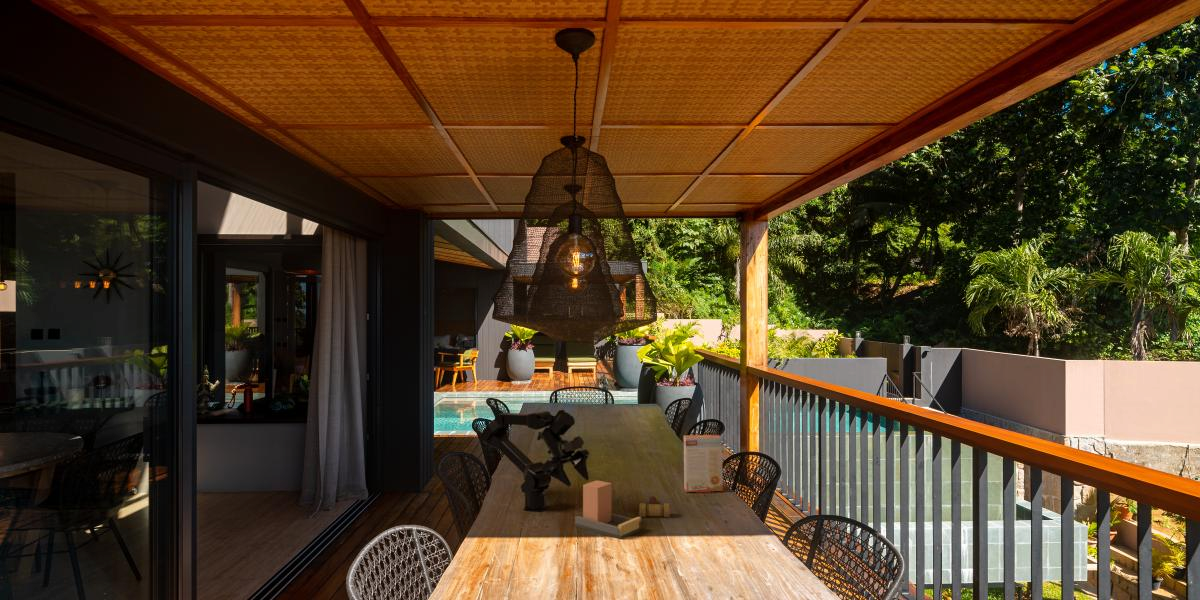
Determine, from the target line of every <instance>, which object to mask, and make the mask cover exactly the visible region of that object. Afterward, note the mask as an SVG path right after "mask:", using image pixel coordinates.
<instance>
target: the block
mask: <svg viewBox="0 0 1200 600" xmlns="http://www.w3.org/2000/svg"><path fill="white" fill-rule="evenodd" d="M582 501H583V502H582V517H583V518H587V519H591V520H595V521H598V522H602V523H608V522H610V521H611V513H612V483H611V482H606V481H602V480H597V479H596V480H593V481H591V482H587V483H585V484H583V485H582Z"/></svg>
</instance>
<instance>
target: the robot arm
mask: <svg viewBox="0 0 1200 600" xmlns="http://www.w3.org/2000/svg"><path fill="white" fill-rule="evenodd" d="M575 420H576V419H575V418H574V416H573V415H572V414H570V413H569V412H567V411H565V410H564V409H560V410H558V411H557V412H556V414H555V415H553V414H551V412H550V411H549V410H543V411H538V412H532V413H522V412H521V413H516V412H509V411H507V412H501V413H498V414H496V416H495V417H494V419H492V420H491V421H490V422H489V423H488V424H487V425H486V426H485V428H483V430H482V431H481V439H482V441H483V442H484V443H485V444H486V445H488V446H490V447H491V448H494V449H498V450H499V451H500V452H501V453H502V454H503V455H504V456H505V457H506V458H507V459H508V460H509V461H510V462H511V463H512V464H513V465H514V466H516V468H517V469H518V470H519V471H520V472H521V473H522V477H523V480H524V482H523V483H522V484H521V485H520V489H521V492H522V493H524V502H525V503H524V507H523V511H529V510H531V511H532V512H542V511H543V510H544V509H545V508H547V506H548V505H547V494H546V490H548V489H549V488H550V487H549V486H550V484H551V482H552V477H553V478H554V479H556V480H557V481H559V482H561V483H562V484H564V485H565V486H567V487H571V485H572V483H571V481H570V478H569V477H568V475H567V473H566V472H565V469H564V465H566V464H570V463H571V464H572V466H573V468H574V470H575V471H577V472H578V474H579V475H580V476H581V477H582V478H583V479H585V481H589V479H590V476H589V473H588V469H587V461H588V459H589V456H590V453H589V451H588V449H587V448H583V446H584V444H585V443H584V440H583V438H582V437H581V436H580V435H579V436H575V437H574V438H573V440H569V441H568V440H567V439H563V436H565V435H566V433H568V431H569V430H570V429H572V427H573V426H574V425H575V424H576V422H575ZM510 425H514V426H515V425H516V426H526V427H527V428H529V429H531V430H535V431H536V430H542V429H543V430H542V431H539V432H537V433H538V434H537V438H536V440H537V441H542V440H543V442H544V444H545V446H546V447H547V449H548V451H547V454H548V455H551V456H552V457H549V458H548V459H547V460H546V461H545V462H544V463H543V462H541V461H539V462H535V463H534V462H533V461H532V460H531V459H530V458H529V457H528V456H527V455H525V454H524V453H523V452H522V451H521V449H519V447H518V446H516V444H514V443H513V442H512V441H511V440H510V439H509V433H508V431H510V430H509V429H510ZM576 450H577V451H576ZM531 511H530V512H531Z"/></svg>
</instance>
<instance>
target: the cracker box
mask: <svg viewBox="0 0 1200 600" xmlns="http://www.w3.org/2000/svg"><path fill="white" fill-rule="evenodd" d="M683 484H684V486H683V487H684V488H683V490H684V491H685V493H687V492H696V493H714V492H713V491H724V490H723V487H724V486H723V437H722V436H721V435H720V434H691V435H690V434H688V435H687V434H685V435H683ZM711 491H712V492H711Z"/></svg>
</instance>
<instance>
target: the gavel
mask: <svg viewBox="0 0 1200 600" xmlns="http://www.w3.org/2000/svg"><path fill="white" fill-rule="evenodd" d="M648 501H649V503H648V504H647V503H645V502H639V507H638V509H639V517H641V518H646V517H648V518H649V517H659V518H661V517H663V518H668V517H669V518H670V517H671V506H670V503H663V504H660V503H658V502H657V498H656V497H655V496H653V495H652V496H650V497H649V500H648Z"/></svg>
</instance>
